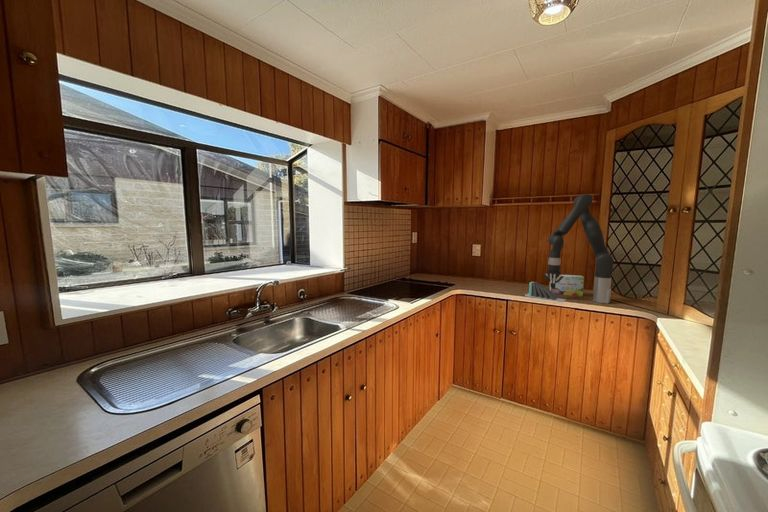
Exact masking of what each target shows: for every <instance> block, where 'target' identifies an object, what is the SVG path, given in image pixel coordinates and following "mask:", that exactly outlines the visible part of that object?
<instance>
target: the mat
mask: <svg viewBox="0 0 768 512" xmlns="http://www.w3.org/2000/svg"><path fill="white" fill-rule="evenodd" d="M524 295H525V296H524V297H529V298H534V299H541V300H547V301H553V302H557V303H564V302H565V301H567V299H566V298H559V297H556V298H555V299H553V300H552V299H551V298H550V297H549V298H547V299H546V298H545V296H544V297H541V298H540V296H537V297H534V295H533V296H529V292H528V293H526V294H524Z"/></svg>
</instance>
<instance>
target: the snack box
mask: <svg viewBox="0 0 768 512" xmlns="http://www.w3.org/2000/svg"><path fill="white" fill-rule="evenodd" d="M561 275H562V276H564V277H563V278H562V279H561V280H560V281H559V282H558V283H556V285H555V288H551V287H550V286H549V287H548V288H549V289H550V291H551V292H552V293H553V294H554V295H555V296H557V295H559V296H570V297H583V295H584V284H585V283H584V282H585V276H583V275H576V274H575V275H574V274H561ZM558 279H559V277H558V278H557V279H556V281H557V280H558ZM550 284H551V283H550V282H549V285H550Z"/></svg>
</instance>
